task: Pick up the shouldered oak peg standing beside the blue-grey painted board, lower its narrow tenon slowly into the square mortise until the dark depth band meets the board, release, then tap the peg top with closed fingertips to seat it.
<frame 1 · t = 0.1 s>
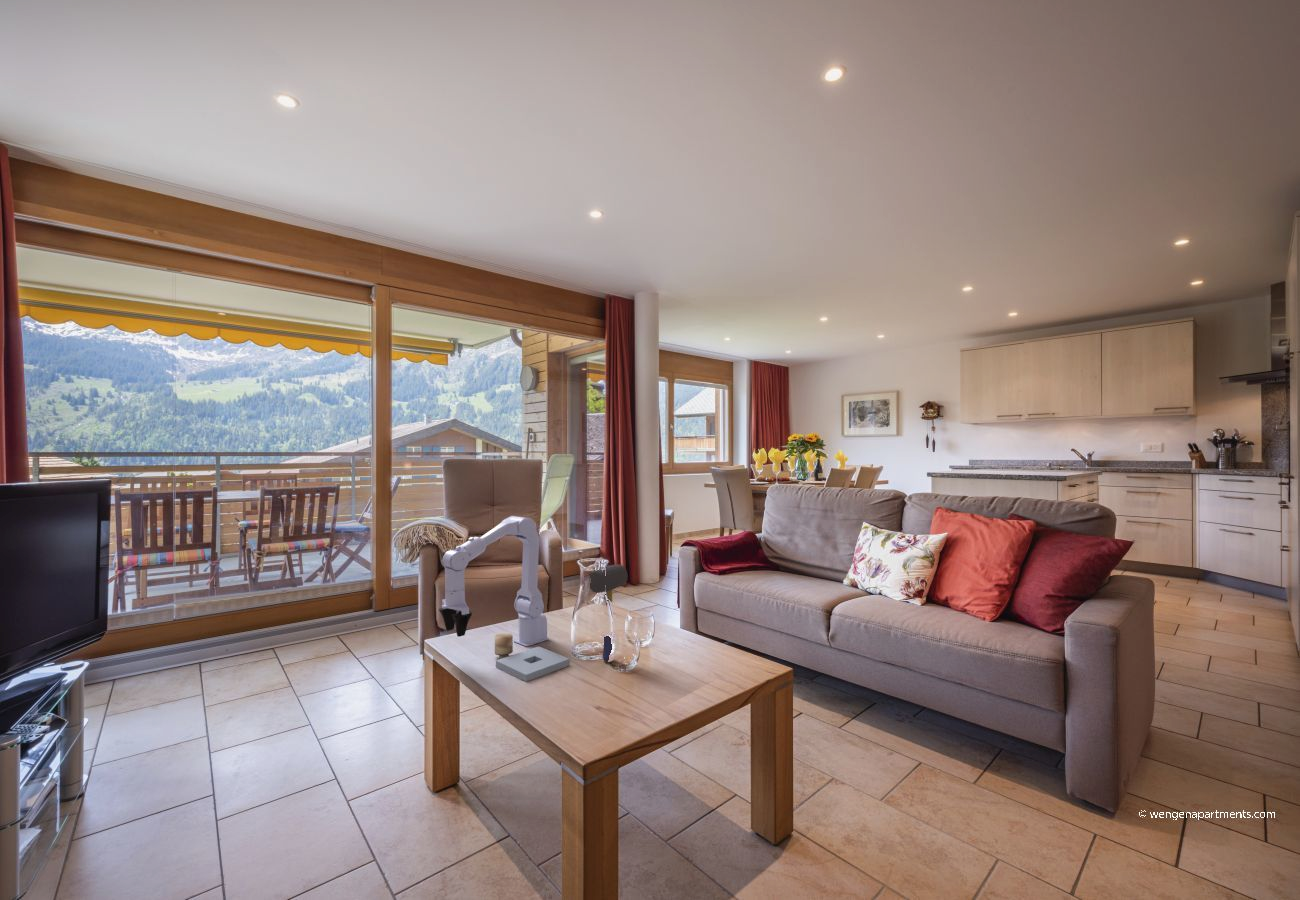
hand: (455, 632, 170), 10 cm above the table, fingers open, 7 cm apart
mortise board: (532, 666, 168), on the table
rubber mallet: (608, 662, 171), on the table
oak peg: (503, 657, 176), on the table
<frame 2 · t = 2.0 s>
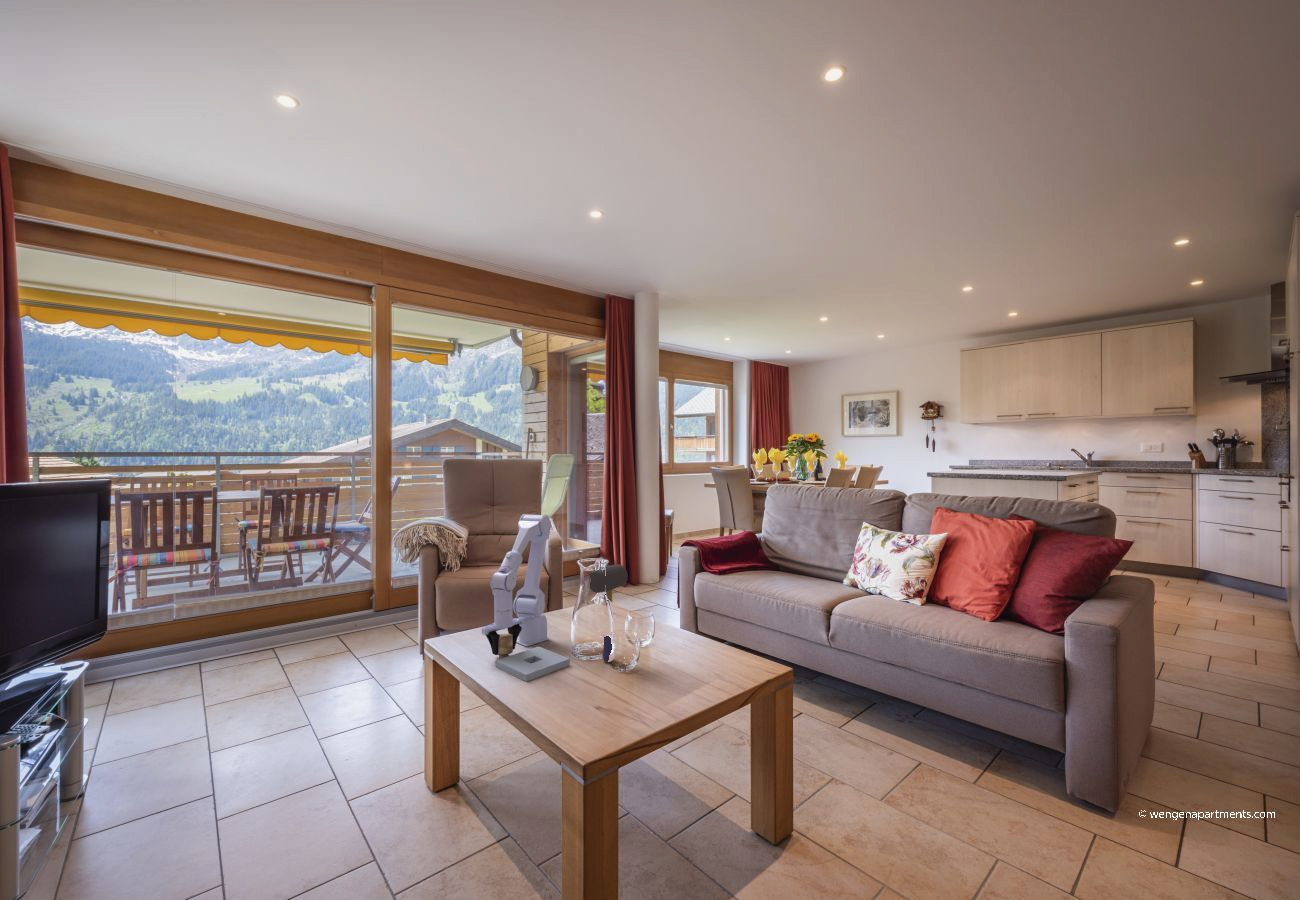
hand: (503, 651, 176), 2 cm above the table, fingers closed on oak peg, 6 cm apart
oak peg: (503, 657, 176), on the table, touching gripper
everything else where it was.
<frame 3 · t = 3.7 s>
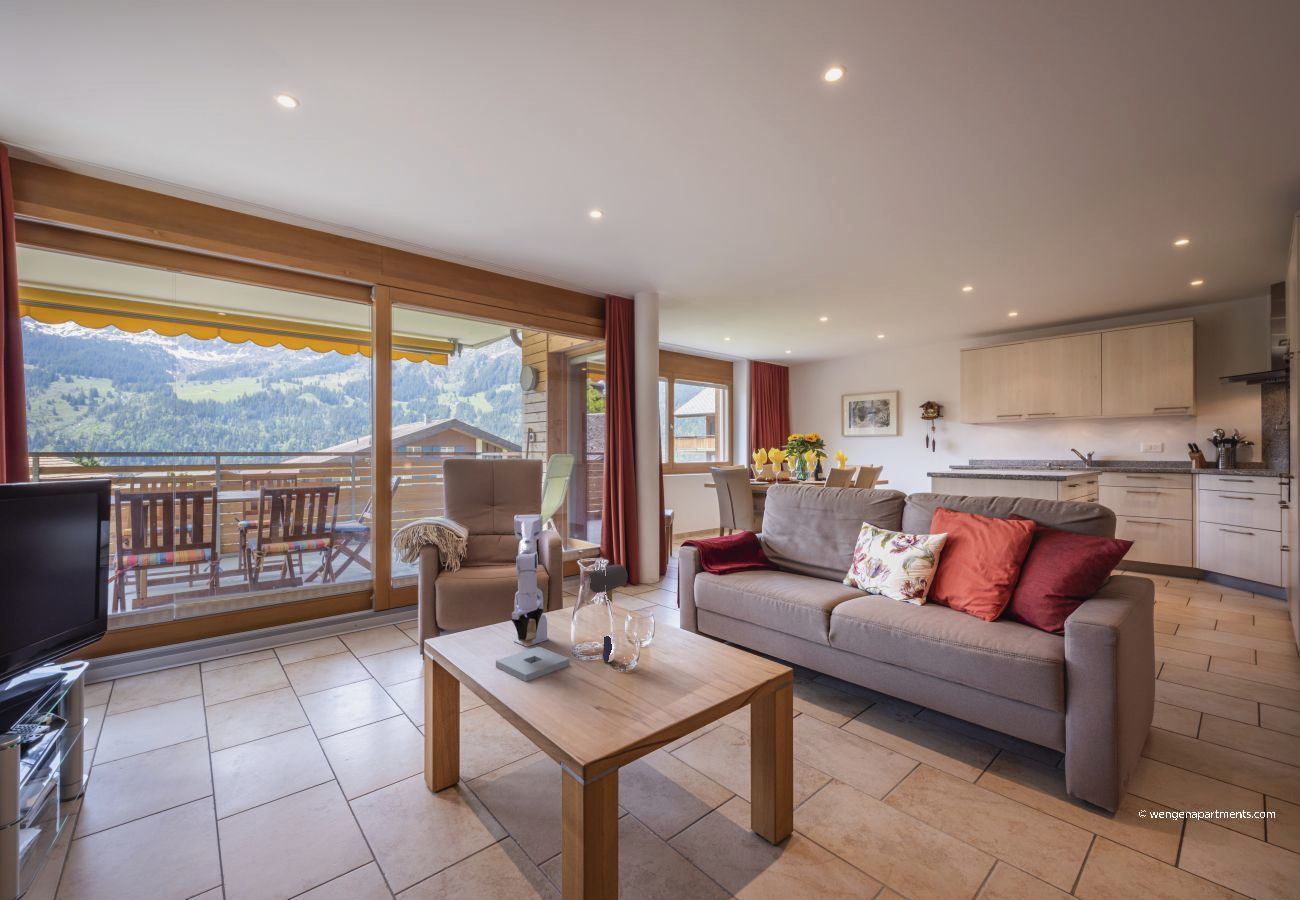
hand: (527, 635, 169), 9 cm above the table, fingers closed on oak peg, 6 cm apart
oak peg: (527, 643, 169), point 7 cm above the table, touching gripper
everything else where it was.
when the fingers open (3 cm above the table, at t = 5.5 s): oak peg stays where it is, resting on mortise board.
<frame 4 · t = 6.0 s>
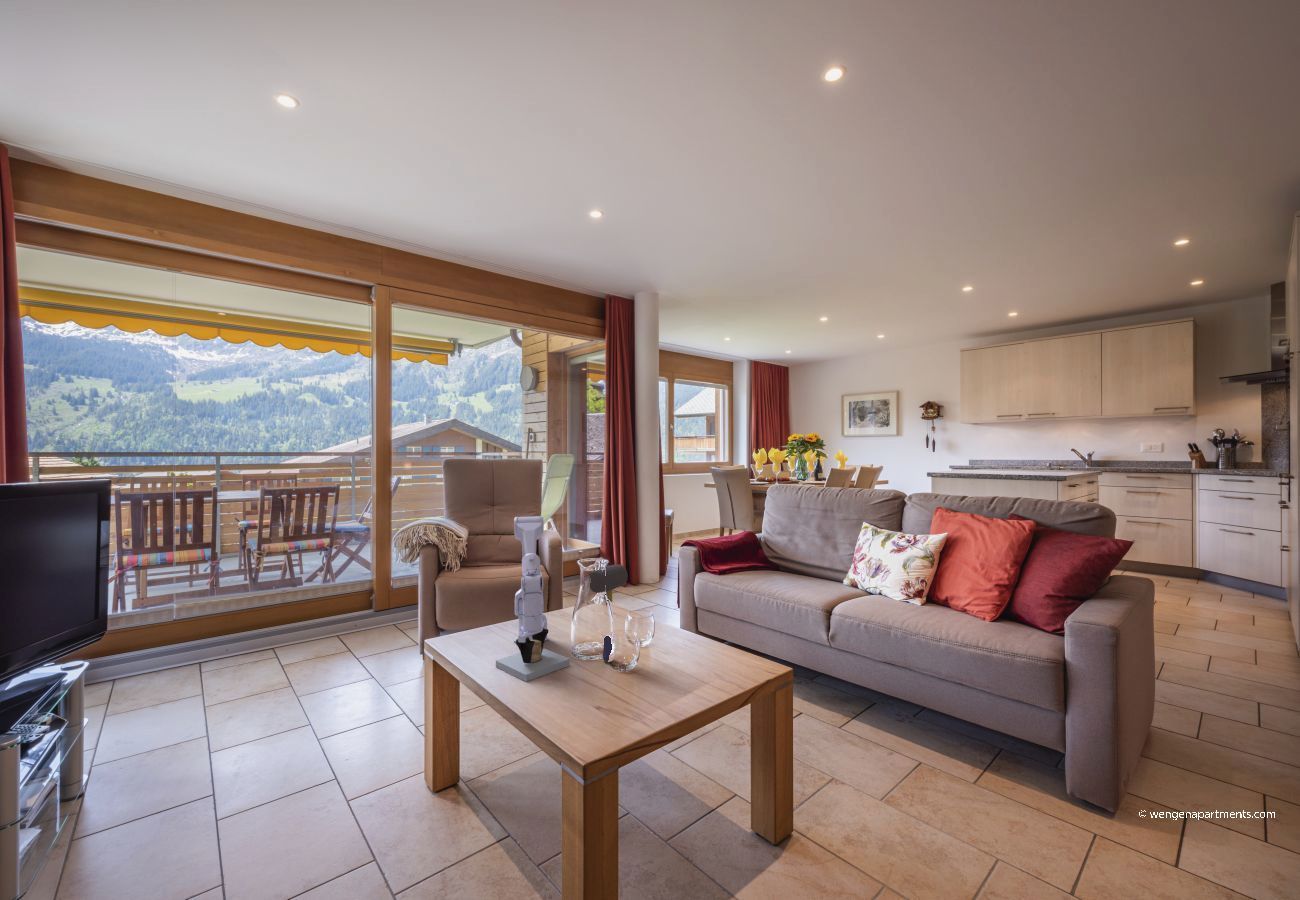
hand: (532, 657, 168), 3 cm above the table, fingers open, 7 cm apart
oak peg: (532, 665, 168), resting on mortise board
everything else where it was.
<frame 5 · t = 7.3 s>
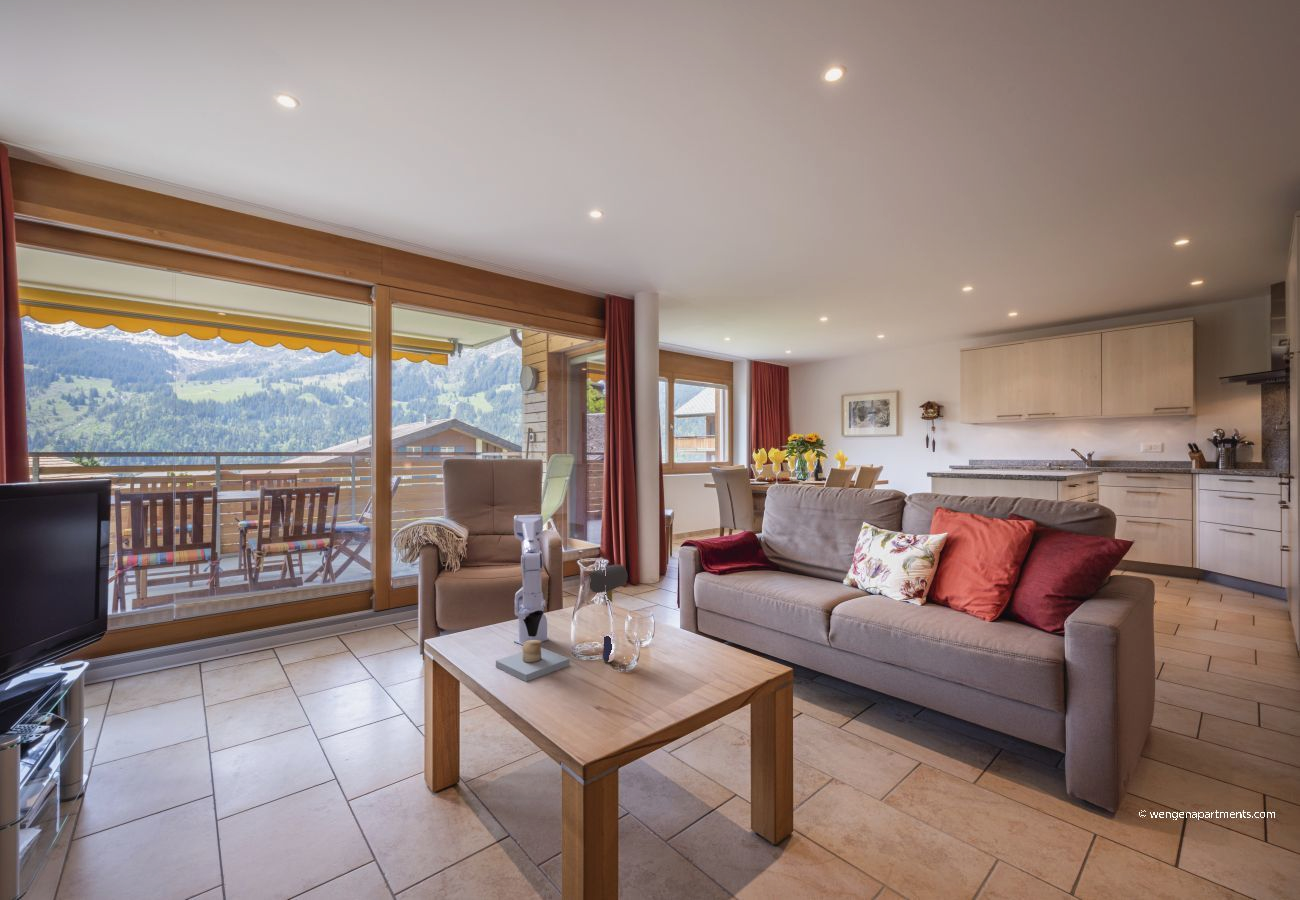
hand: (532, 635, 168), 9 cm above the table, fingers closed
nothing on the table moved.
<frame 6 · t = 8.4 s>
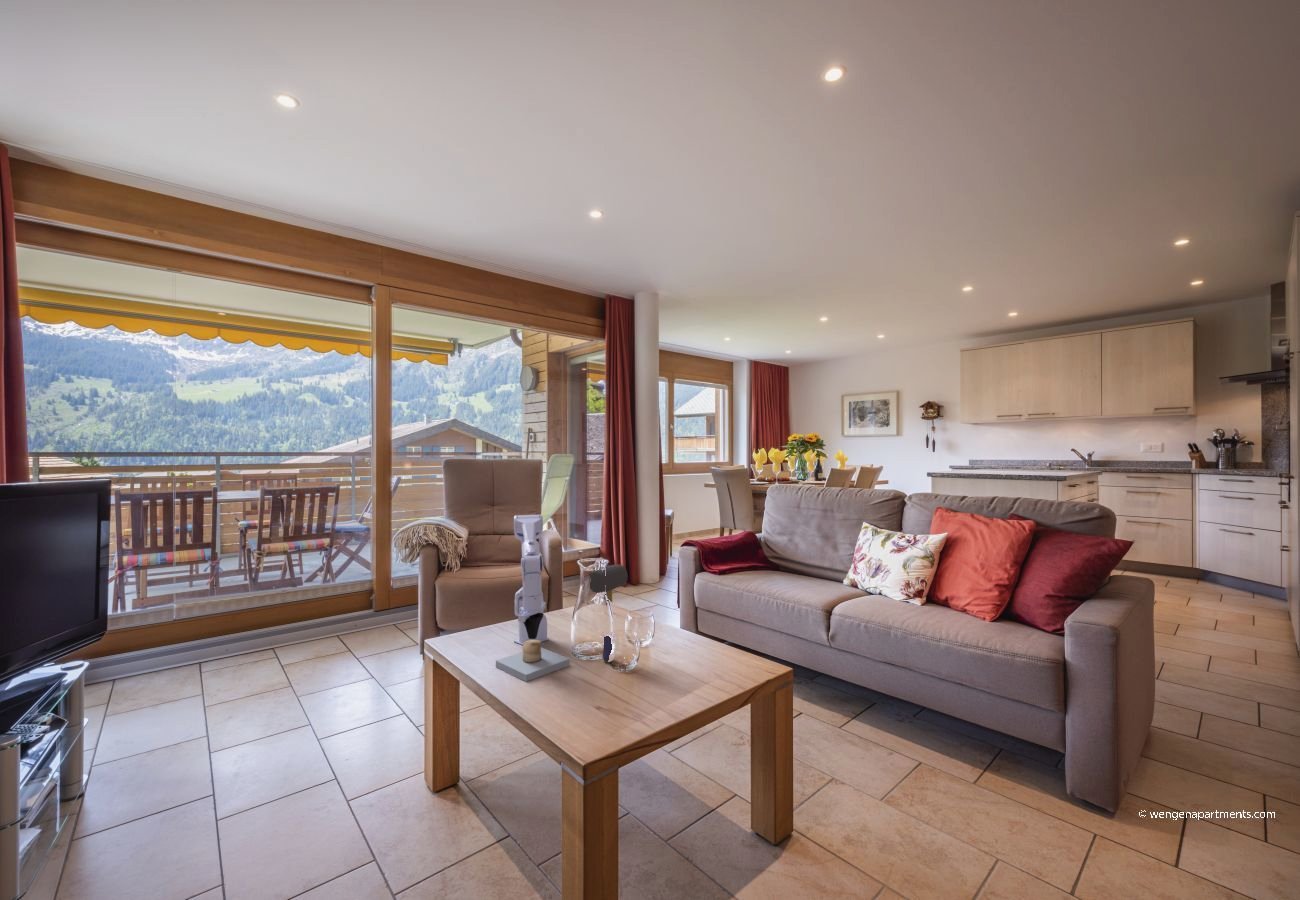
hand: (532, 638, 168), 9 cm above the table, fingers closed
nothing on the table moved.
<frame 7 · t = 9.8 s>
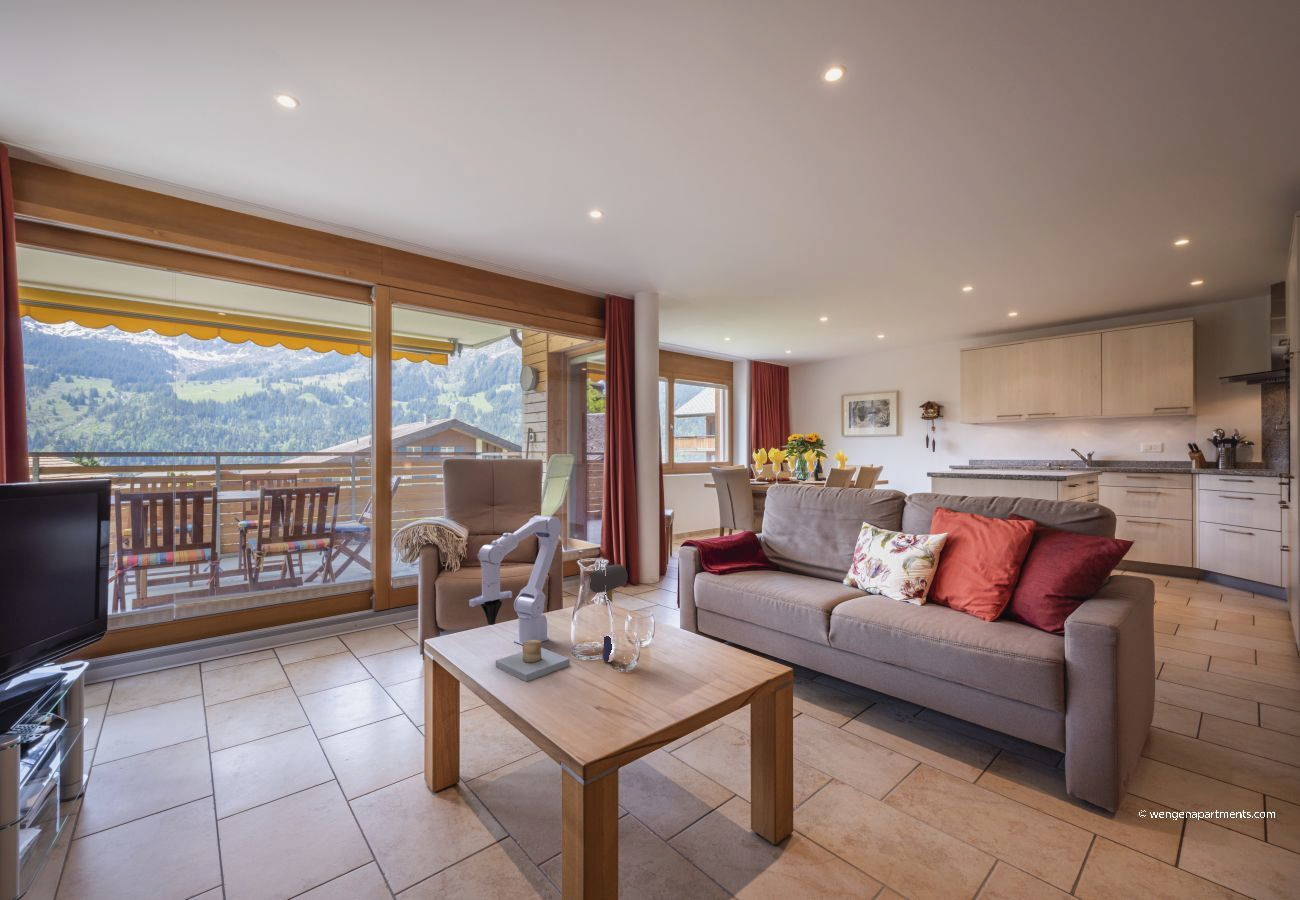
hand: (491, 623, 177), 10 cm above the table, fingers closed
nothing on the table moved.
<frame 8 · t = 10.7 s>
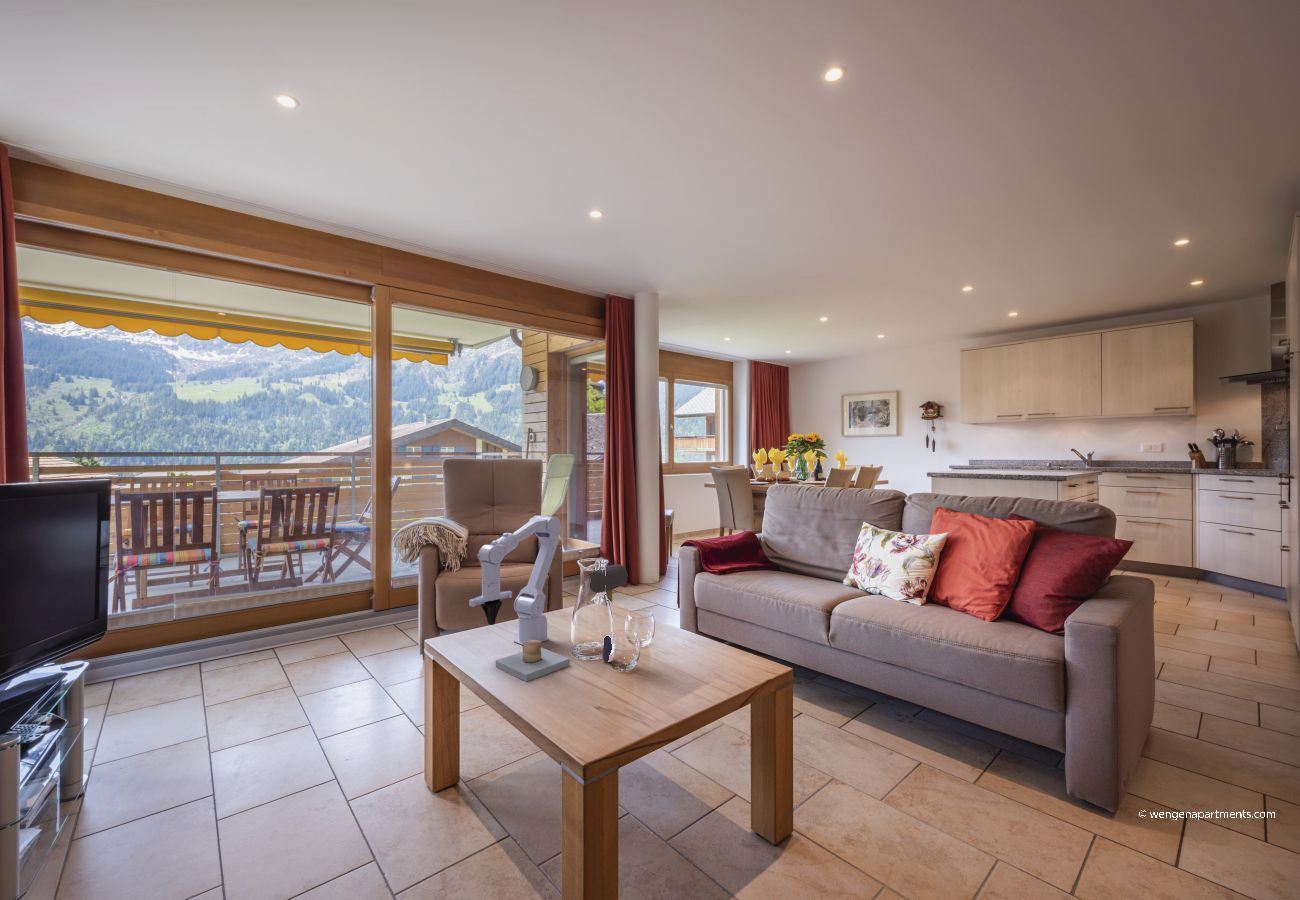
hand: (491, 623, 177), 10 cm above the table, fingers closed
nothing on the table moved.
at the end: oak peg 0.2 cm off-centre on the mortise board, point 0.3 cm above the mortise board's base; oak peg tilted 0°; the gripper is holding nothing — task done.
